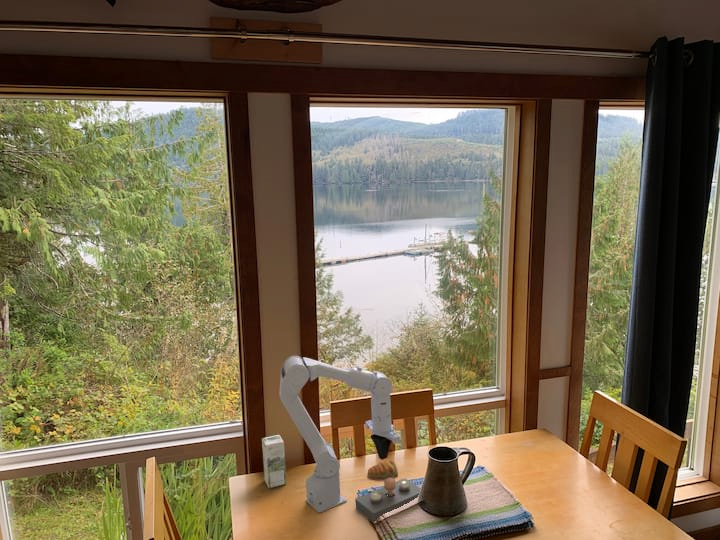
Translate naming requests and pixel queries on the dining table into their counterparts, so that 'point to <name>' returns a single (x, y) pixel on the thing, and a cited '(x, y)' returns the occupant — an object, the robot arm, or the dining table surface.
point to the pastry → (383, 470)
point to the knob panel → (386, 501)
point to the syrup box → (274, 461)
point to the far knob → (403, 485)
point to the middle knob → (390, 486)
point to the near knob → (375, 497)
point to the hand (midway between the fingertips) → (383, 457)
